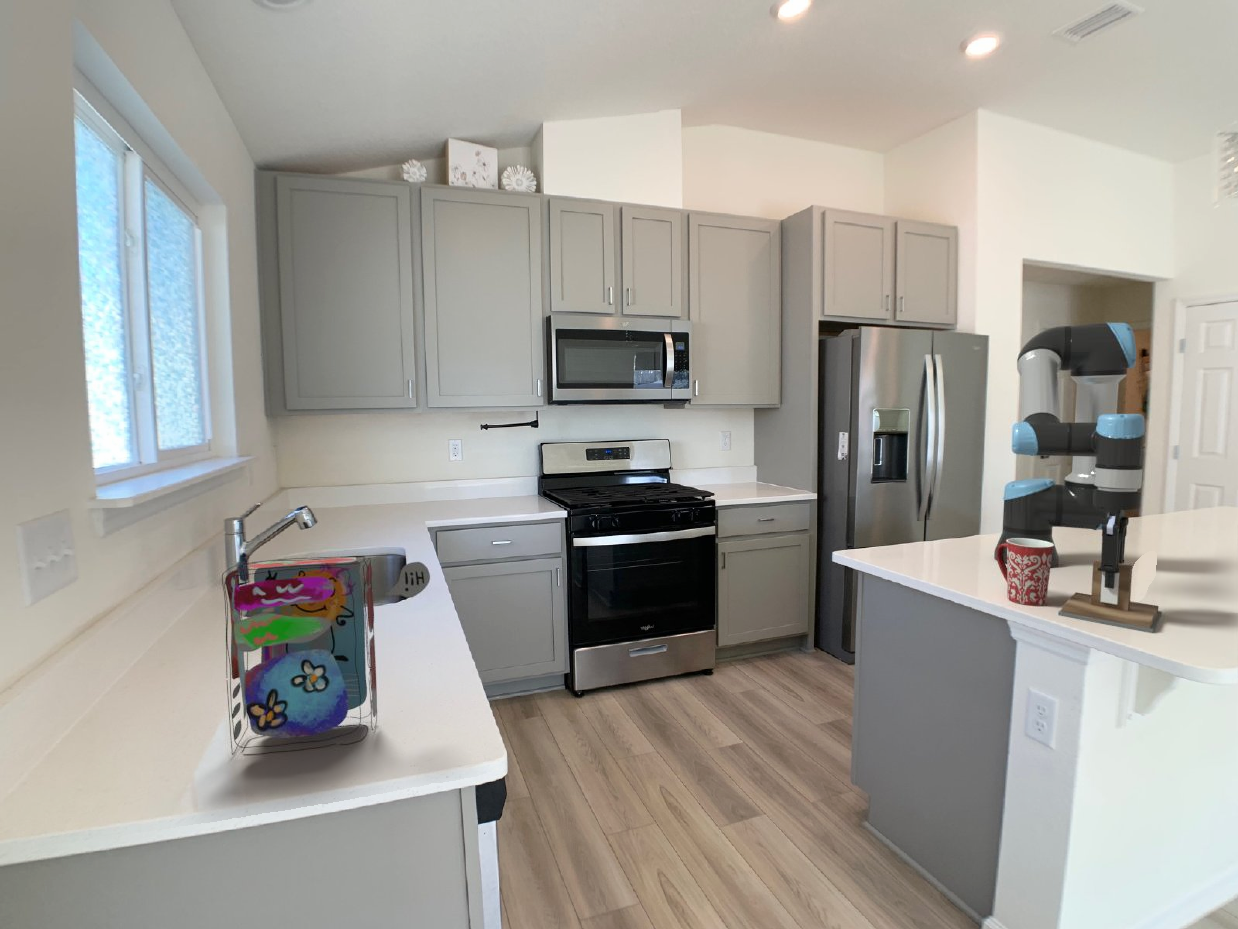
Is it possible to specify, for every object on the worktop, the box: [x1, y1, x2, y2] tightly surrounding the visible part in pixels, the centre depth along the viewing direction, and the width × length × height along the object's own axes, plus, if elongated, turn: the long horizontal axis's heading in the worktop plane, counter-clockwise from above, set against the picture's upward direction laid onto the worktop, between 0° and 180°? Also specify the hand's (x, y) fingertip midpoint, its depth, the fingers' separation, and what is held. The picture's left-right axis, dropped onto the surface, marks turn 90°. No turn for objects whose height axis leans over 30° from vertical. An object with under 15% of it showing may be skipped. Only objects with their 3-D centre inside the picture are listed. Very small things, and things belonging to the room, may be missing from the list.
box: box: [221, 555, 431, 756], centre depth 83 cm, size 25×6×24 cm, turn 102°
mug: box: [996, 538, 1055, 607], centre depth 138 cm, size 13×9×14 cm
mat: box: [1057, 608, 1163, 634], centre depth 127 cm, size 15×15×1 cm
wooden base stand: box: [1061, 559, 1159, 629], centre depth 127 cm, size 14×14×10 cm
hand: (1110, 600), depth 127 cm, fingers closed on wooden base stand, 3 cm apart
